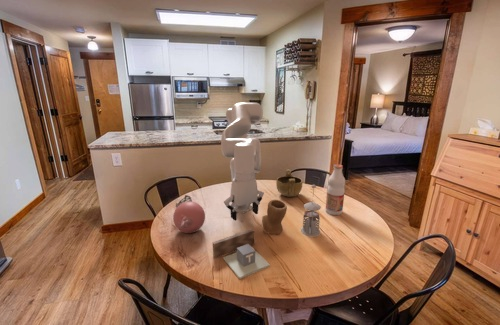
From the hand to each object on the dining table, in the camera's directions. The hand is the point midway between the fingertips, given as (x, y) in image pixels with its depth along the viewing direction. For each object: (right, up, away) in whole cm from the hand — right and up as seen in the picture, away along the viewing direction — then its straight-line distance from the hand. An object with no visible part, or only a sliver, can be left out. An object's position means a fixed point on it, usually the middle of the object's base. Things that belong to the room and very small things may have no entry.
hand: (244, 216), depth 102 cm
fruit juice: (+51, -7, +47) cm, 70 cm away
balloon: (-28, -14, +26) cm, 41 cm away
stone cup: (+14, -13, +31) cm, 36 cm away
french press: (+32, -14, +26) cm, 44 cm away
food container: (-33, -9, +43) cm, 55 cm away
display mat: (0, -20, +4) cm, 21 cm away
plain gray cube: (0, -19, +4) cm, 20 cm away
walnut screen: (-5, -18, +13) cm, 22 cm away
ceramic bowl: (+28, -1, +70) cm, 75 cm away
